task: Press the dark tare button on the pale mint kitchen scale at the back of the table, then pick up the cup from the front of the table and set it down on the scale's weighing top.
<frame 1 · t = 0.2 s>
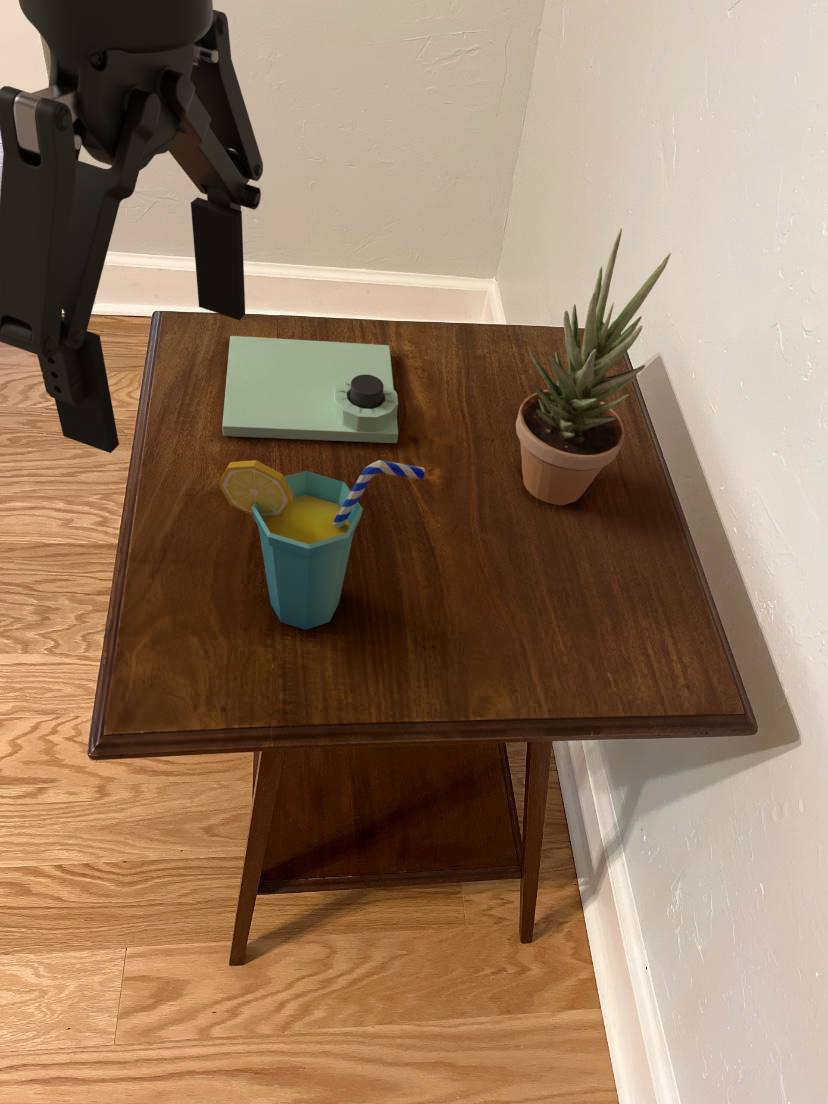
hand: (162, 370, 51), 24 cm above the table, tool pointing down, fingers open, 13 cm apart
scale: (311, 392, 89), on the table
tare button: (366, 391, 84), point 4 cm above the table, slide at 0.1 cm
potted plant: (550, 482, 85), on the table
cup: (316, 604, 72), on the table
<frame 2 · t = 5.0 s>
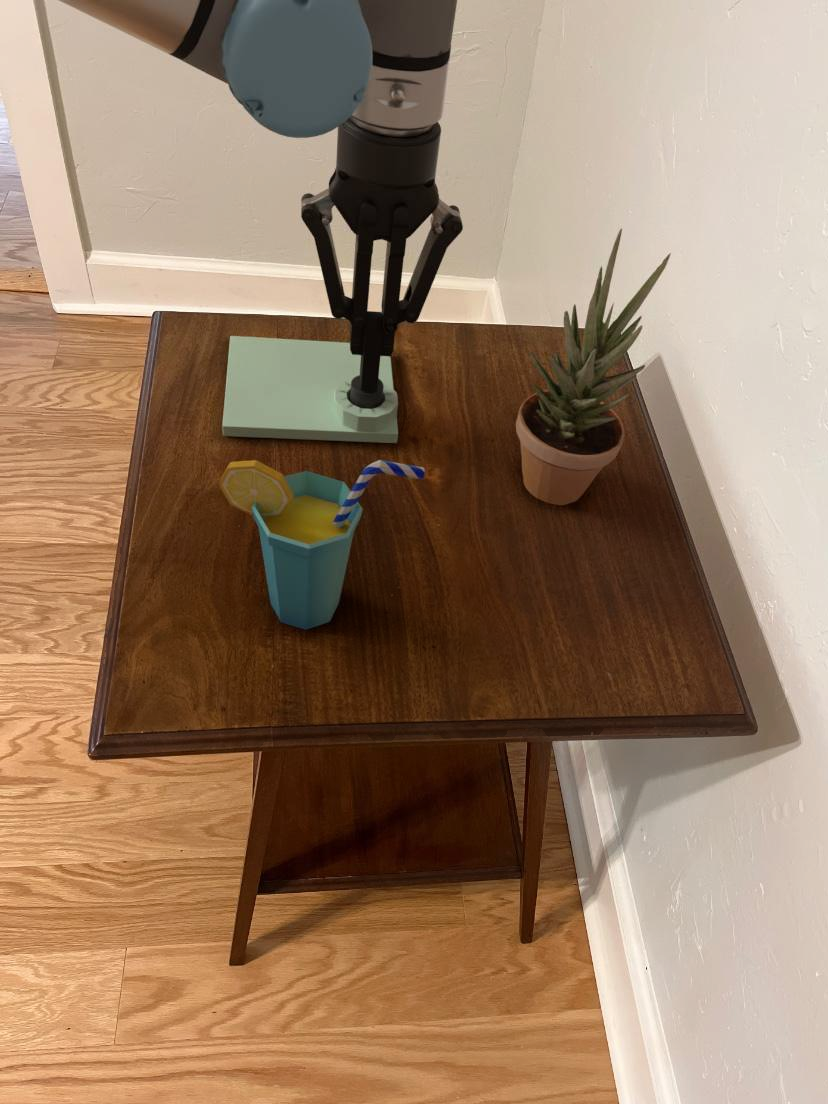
hand: (368, 381, 84), 5 cm above the table, tool pointing down, fingers closed
tare button: (366, 391, 84), point 4 cm above the table, slide at 0.1 cm, touching gripper
everything else where it was.
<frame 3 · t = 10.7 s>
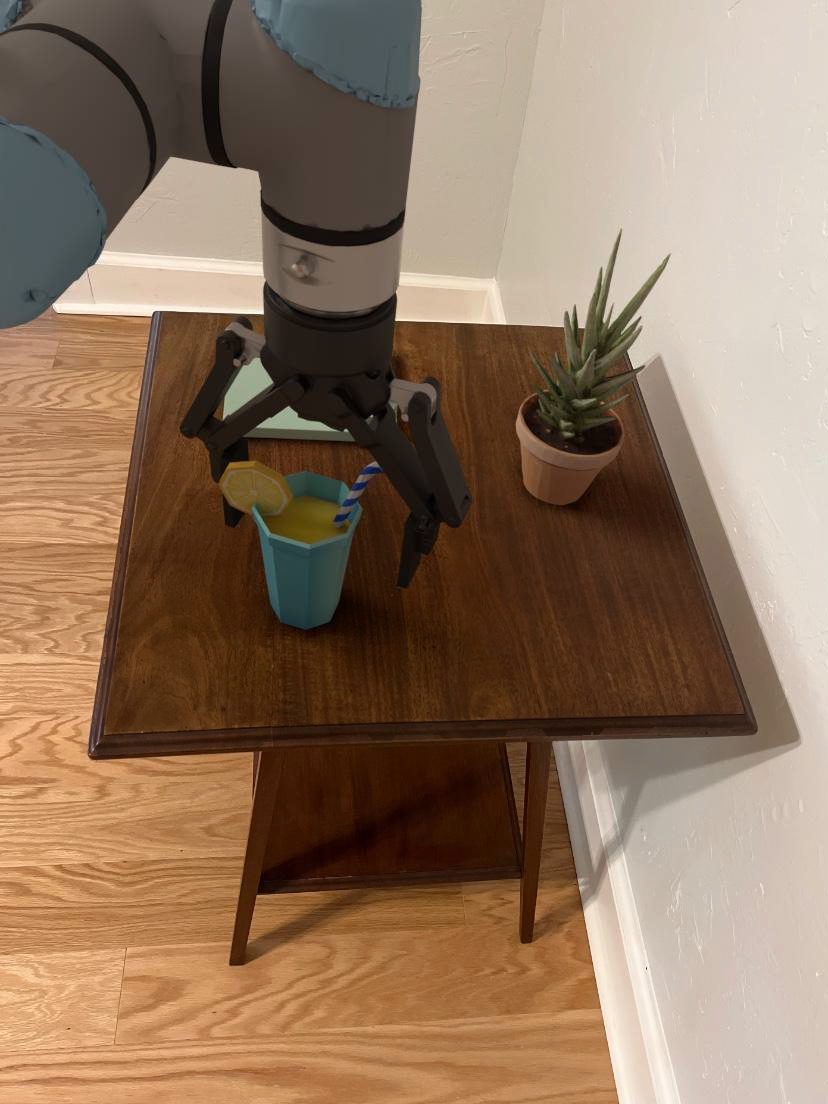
hand: (322, 545, 67), 7 cm above the table, tool pointing down, fingers open, 13 cm apart
tare button: (366, 391, 84), point 4 cm above the table, slide at 0.1 cm
cup: (316, 604, 72), on the table, touching gripper
everything else where it was.
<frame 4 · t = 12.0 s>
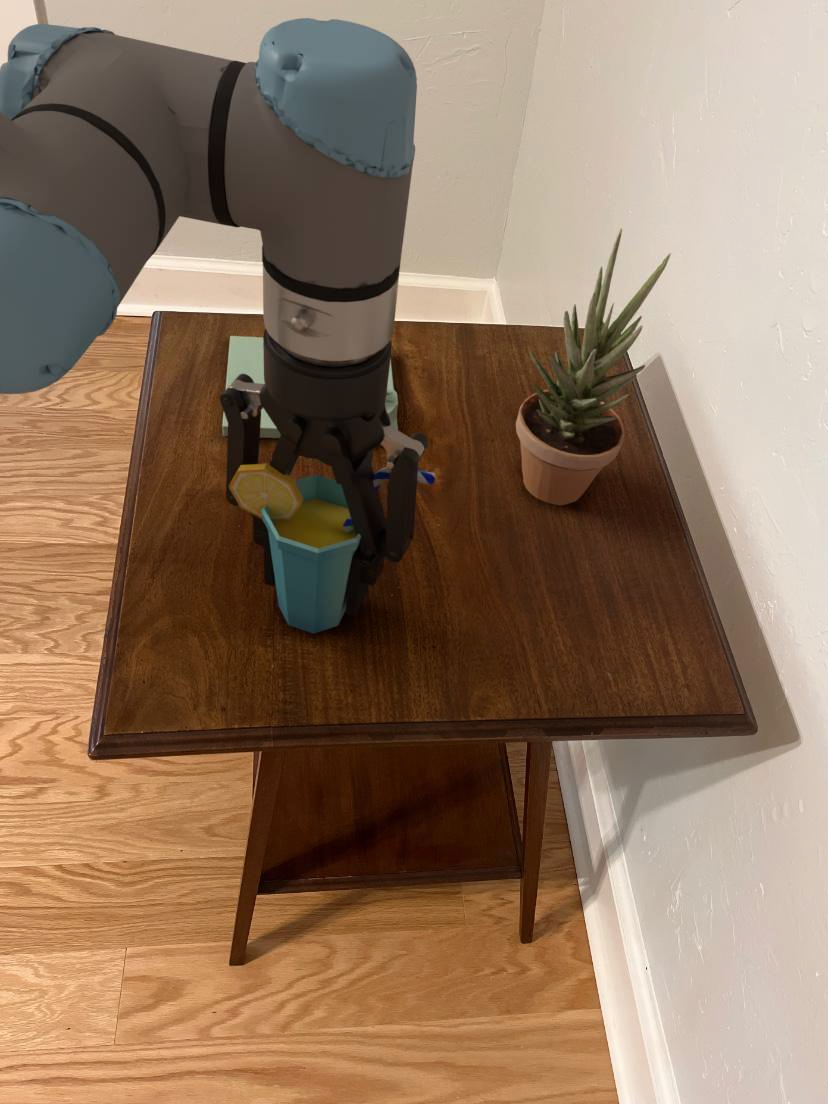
hand: (316, 587, 71), 2 cm above the table, tool pointing down, fingers closed on cup, 6 cm apart
cup: (324, 608, 72), on the table, touching gripper
everything else where it was.
when the fingers open (3 cm above the table, at t = 19.7 s): cup stays where it is, resting on scale.
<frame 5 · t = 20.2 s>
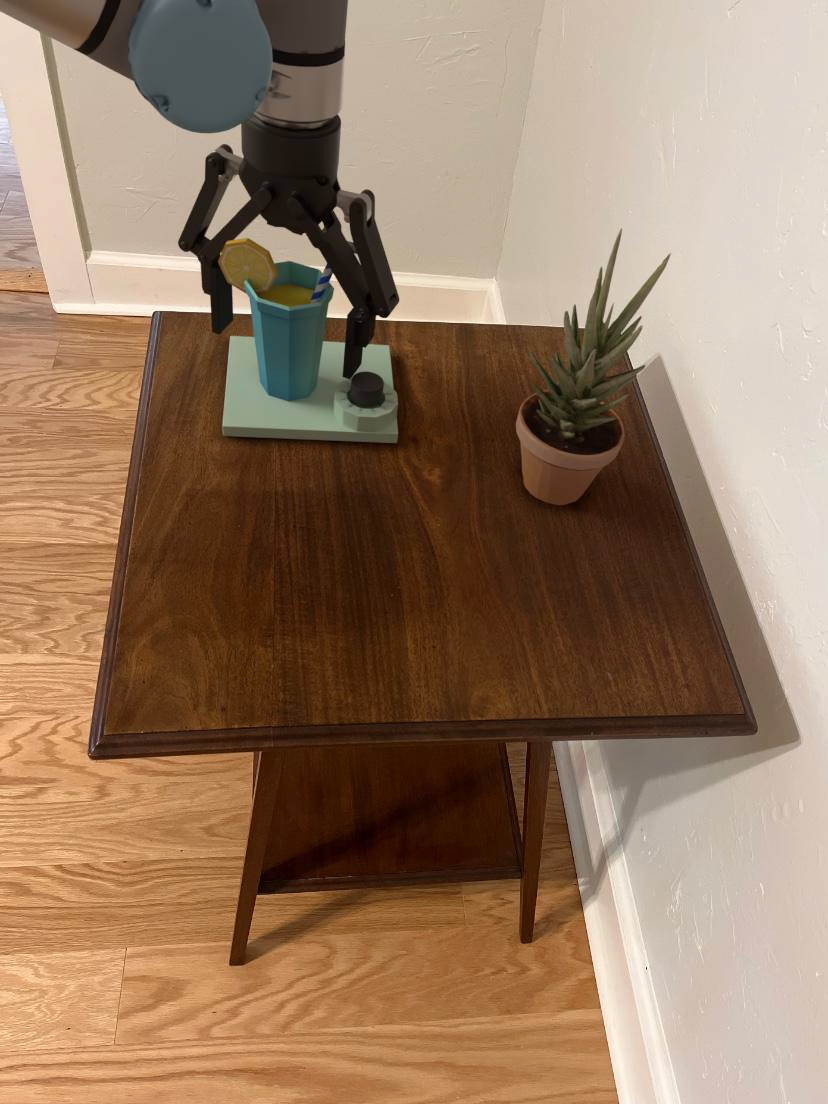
hand: (286, 348, 85), 5 cm above the table, tool pointing down, fingers open, 12 cm apart
tare button: (366, 388, 84), point 4 cm above the table, slide at 0.5 cm, touching gripper
cup: (298, 386, 88), point 1 cm above the table, touching scale
everything else where it was.
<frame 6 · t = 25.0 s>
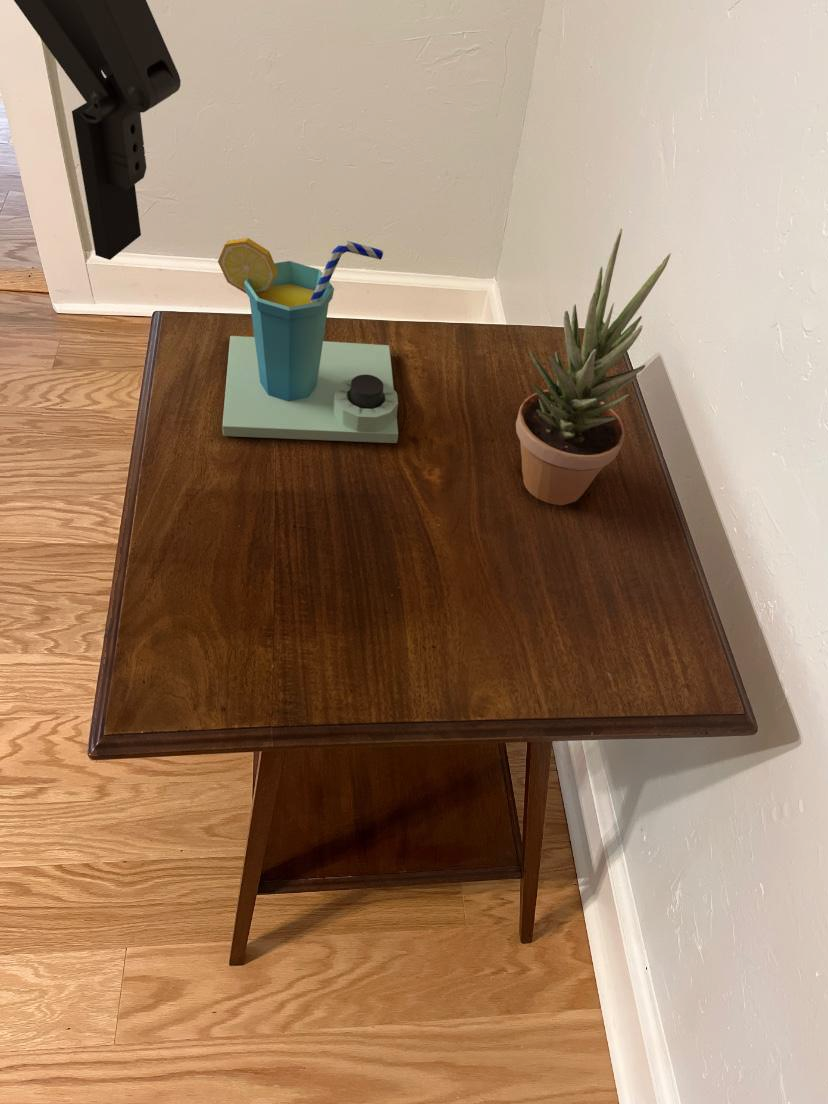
tare button: (366, 391, 84), point 4 cm above the table, slide at 0.1 cm
everything else where it was.
at the end: tare button pushed in 1.0 cm at the most during the clip, back to where it started at the end; cup inside the target area on the scale (0.8 cm from its centre), point 1.0 cm above the scale's base; cup touching scale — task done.
